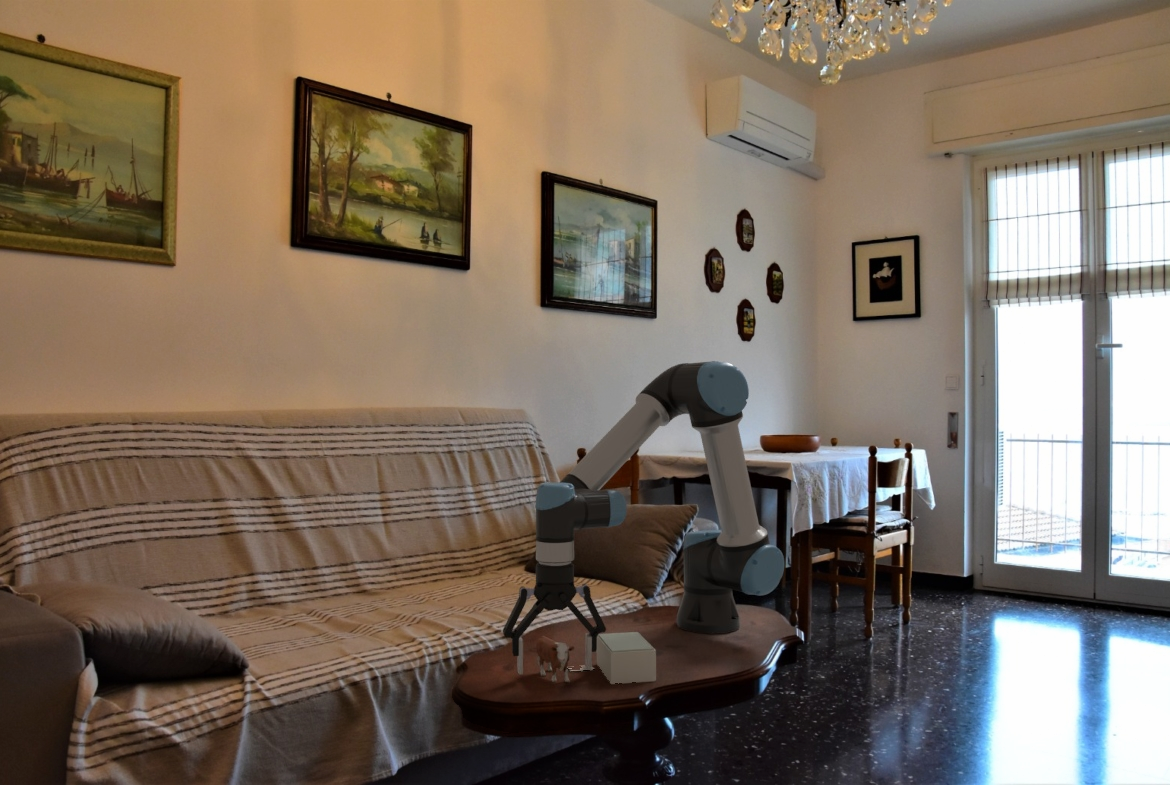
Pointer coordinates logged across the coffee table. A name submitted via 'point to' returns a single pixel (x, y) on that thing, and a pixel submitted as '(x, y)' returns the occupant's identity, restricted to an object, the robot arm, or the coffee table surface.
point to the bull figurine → (553, 656)
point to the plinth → (626, 657)
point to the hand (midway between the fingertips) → (554, 670)
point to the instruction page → (581, 668)
